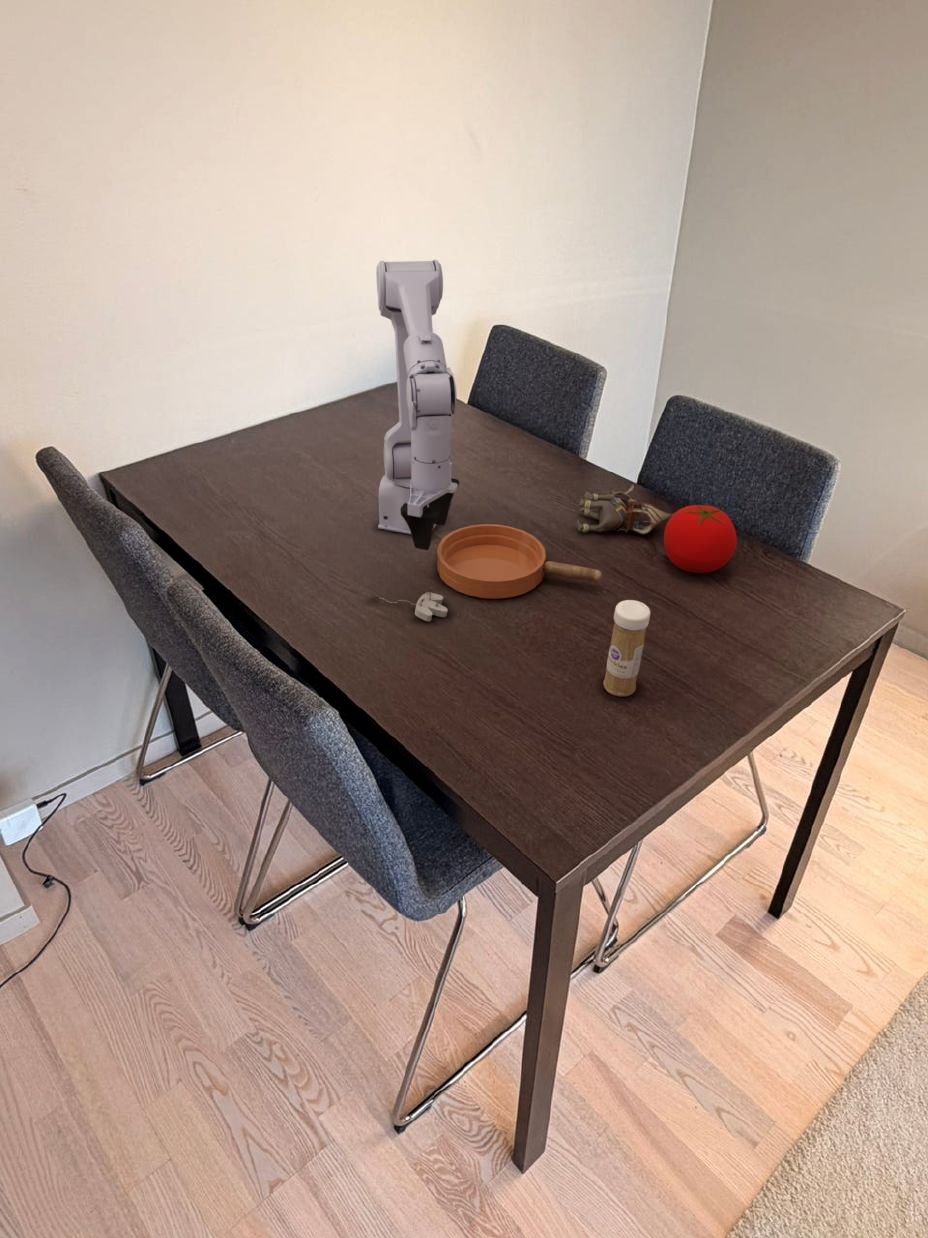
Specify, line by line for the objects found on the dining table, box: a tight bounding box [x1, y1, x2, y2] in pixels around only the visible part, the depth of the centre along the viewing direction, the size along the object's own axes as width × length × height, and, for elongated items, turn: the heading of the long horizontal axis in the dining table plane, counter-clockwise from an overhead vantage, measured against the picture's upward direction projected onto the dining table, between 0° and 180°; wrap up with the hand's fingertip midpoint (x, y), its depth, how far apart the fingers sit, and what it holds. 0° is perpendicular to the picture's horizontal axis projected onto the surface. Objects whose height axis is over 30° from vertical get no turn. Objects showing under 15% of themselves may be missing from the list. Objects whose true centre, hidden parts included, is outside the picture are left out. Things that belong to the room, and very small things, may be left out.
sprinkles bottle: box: [602, 599, 651, 698], centre depth 117 cm, size 5×5×14 cm
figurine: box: [576, 484, 675, 535], centre depth 155 cm, size 20×6×17 cm
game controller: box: [380, 591, 448, 622], centre depth 133 cm, size 6×12×3 cm, turn 89°
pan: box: [436, 523, 547, 600], centre depth 143 cm, size 18×18×4 cm
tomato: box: [663, 503, 738, 574], centre depth 144 cm, size 11×12×10 cm
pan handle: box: [543, 560, 603, 583], centre depth 140 cm, size 10×2×2 cm, turn 73°
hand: (430, 535), depth 134 cm, fingers open, 7 cm apart
